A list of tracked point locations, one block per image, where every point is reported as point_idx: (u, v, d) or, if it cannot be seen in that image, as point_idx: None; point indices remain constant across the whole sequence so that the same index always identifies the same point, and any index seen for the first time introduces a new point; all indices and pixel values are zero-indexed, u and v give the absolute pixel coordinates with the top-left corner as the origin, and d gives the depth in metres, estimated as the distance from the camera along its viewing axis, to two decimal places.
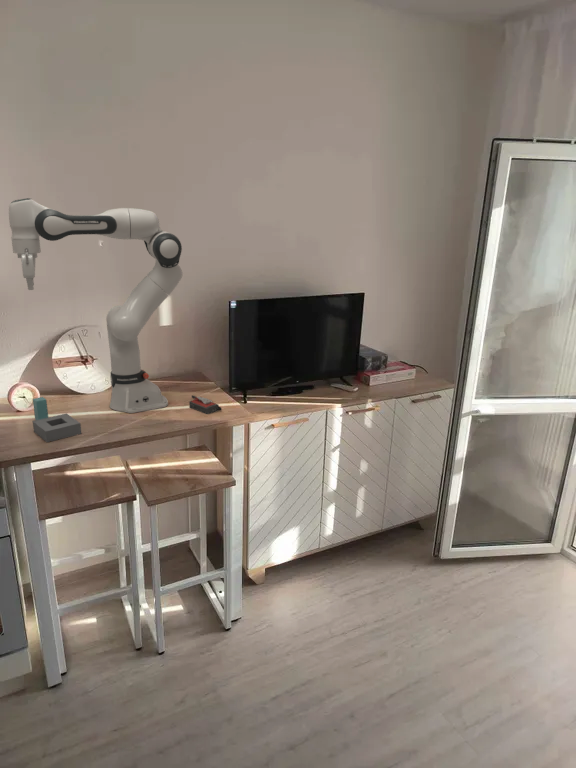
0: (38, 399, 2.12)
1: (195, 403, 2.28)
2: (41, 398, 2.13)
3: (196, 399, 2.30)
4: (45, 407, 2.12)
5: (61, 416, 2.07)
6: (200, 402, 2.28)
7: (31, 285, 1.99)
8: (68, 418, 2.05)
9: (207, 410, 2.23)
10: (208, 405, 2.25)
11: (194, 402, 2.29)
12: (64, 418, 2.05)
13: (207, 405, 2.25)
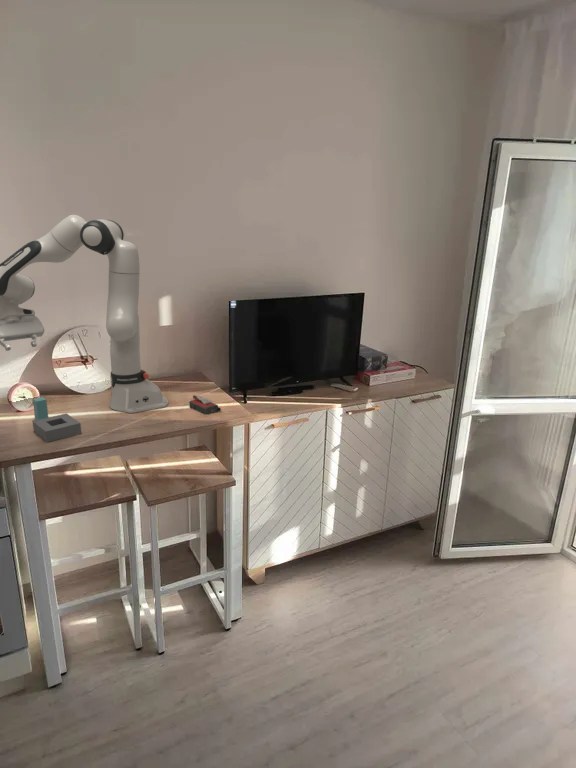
0: (38, 399, 2.12)
1: (195, 403, 2.28)
2: (41, 398, 2.13)
3: (196, 399, 2.29)
4: (45, 407, 2.12)
5: (61, 416, 2.07)
6: (200, 402, 2.28)
7: (5, 346, 2.12)
8: (68, 418, 2.05)
9: (205, 410, 2.23)
10: (207, 405, 2.25)
11: (194, 402, 2.29)
12: (64, 418, 2.05)
13: (206, 405, 2.25)
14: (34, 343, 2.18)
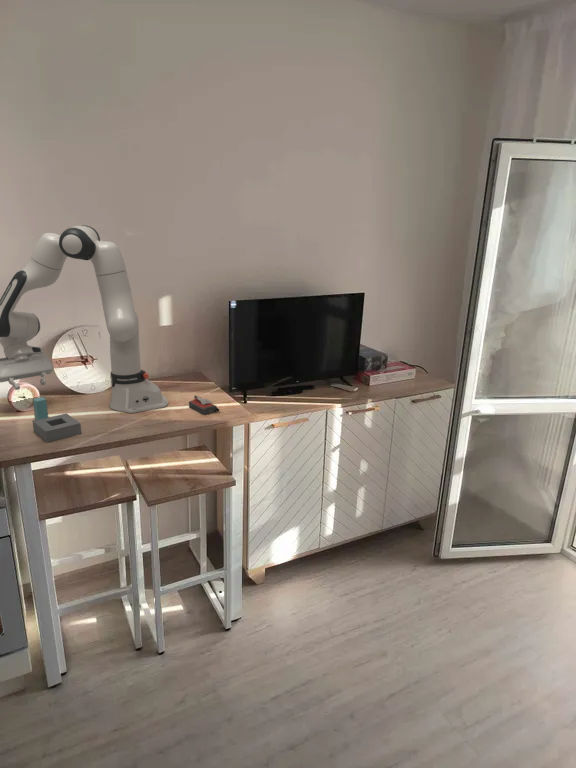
0: (38, 399, 2.12)
1: (194, 403, 2.27)
2: (41, 398, 2.13)
3: (195, 399, 2.29)
4: (45, 407, 2.12)
5: (61, 416, 2.07)
6: (199, 403, 2.28)
7: (14, 385, 2.13)
8: (68, 418, 2.05)
9: (203, 411, 2.22)
10: (206, 406, 2.24)
11: (193, 402, 2.28)
12: (64, 418, 2.05)
13: (205, 406, 2.24)
14: (43, 381, 2.19)
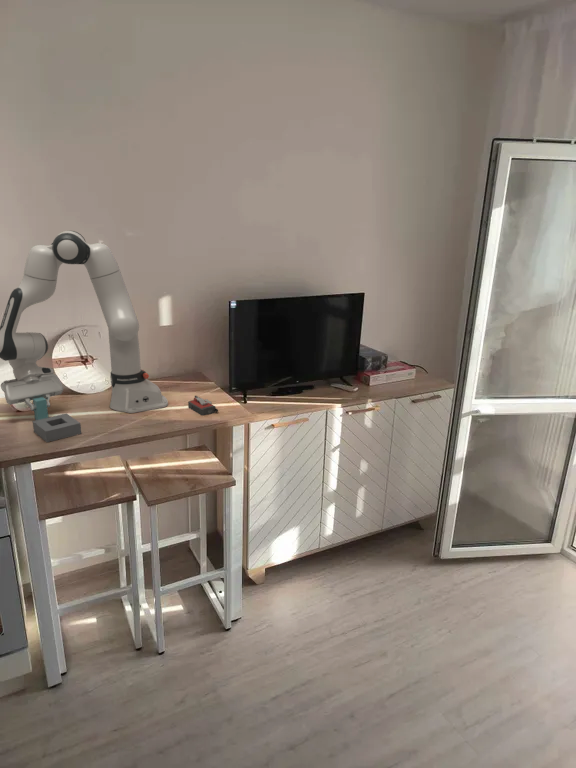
0: (38, 399, 2.12)
1: (193, 403, 2.27)
2: (41, 398, 2.13)
3: (195, 399, 2.29)
4: (45, 407, 2.12)
5: (61, 416, 2.07)
6: (198, 403, 2.27)
7: (30, 406, 2.11)
8: (68, 418, 2.05)
9: (202, 411, 2.22)
10: (204, 406, 2.24)
11: (192, 402, 2.28)
12: (64, 418, 2.05)
13: (203, 406, 2.24)
14: (47, 404, 2.14)
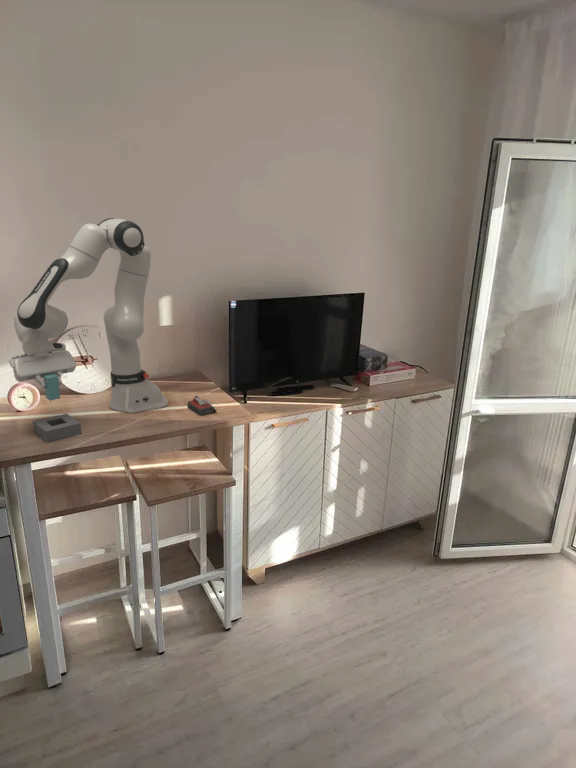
0: (49, 376, 1.97)
1: (192, 404, 2.27)
2: (52, 375, 1.98)
3: (194, 400, 2.29)
4: (57, 385, 1.98)
5: (61, 416, 2.07)
6: (197, 403, 2.27)
7: (41, 383, 1.96)
8: (68, 418, 2.05)
9: (200, 412, 2.22)
10: (203, 407, 2.23)
11: (191, 403, 2.28)
12: (64, 418, 2.05)
13: (202, 407, 2.23)
14: (59, 381, 1.99)
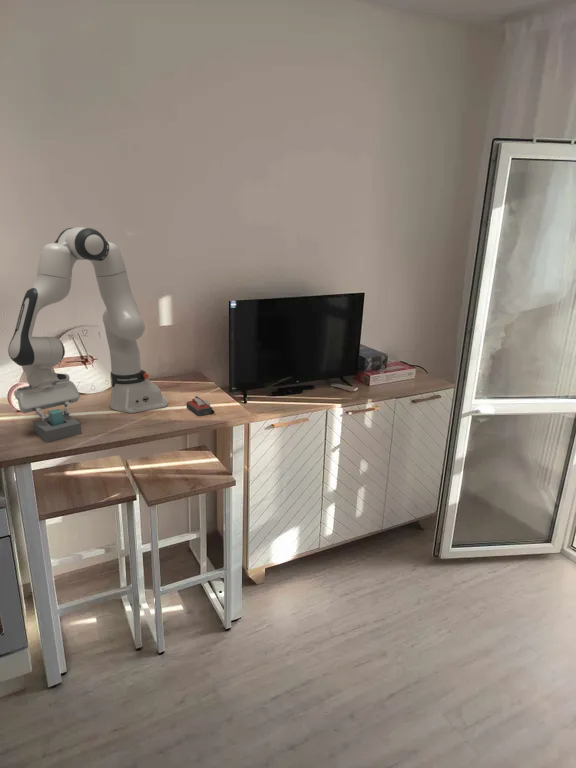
0: (54, 411, 2.00)
1: (191, 404, 2.27)
2: (57, 410, 2.02)
3: (193, 400, 2.28)
4: (61, 420, 2.01)
5: None
6: (195, 404, 2.27)
7: (41, 415, 1.98)
8: (68, 418, 2.05)
9: (198, 412, 2.21)
10: (201, 407, 2.23)
11: (190, 403, 2.28)
12: (64, 418, 2.05)
13: (200, 407, 2.23)
14: (67, 411, 2.03)
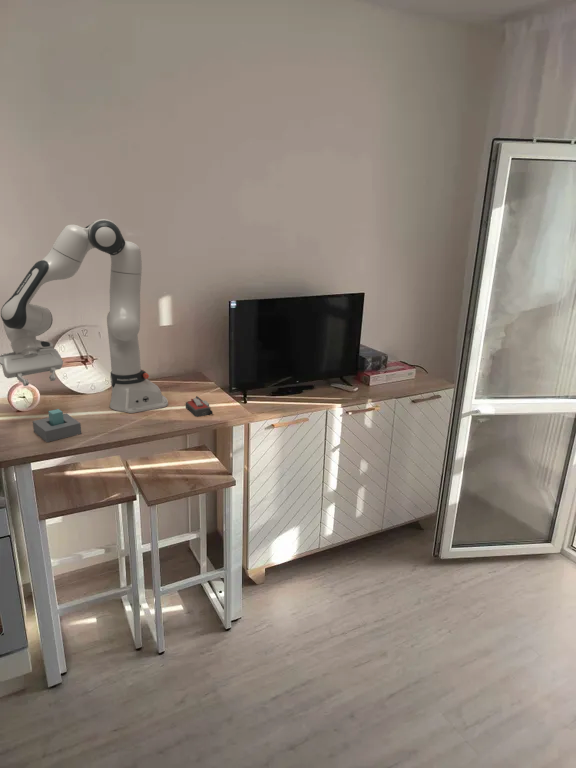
0: (54, 411, 2.00)
1: (189, 404, 2.26)
2: (57, 410, 2.02)
3: (192, 400, 2.28)
4: (61, 420, 2.01)
5: None
6: (194, 404, 2.26)
7: (22, 381, 2.03)
8: (68, 418, 2.05)
9: (195, 412, 2.21)
10: (199, 408, 2.22)
11: (189, 403, 2.27)
12: (64, 418, 2.05)
13: (198, 407, 2.22)
14: (53, 377, 2.09)
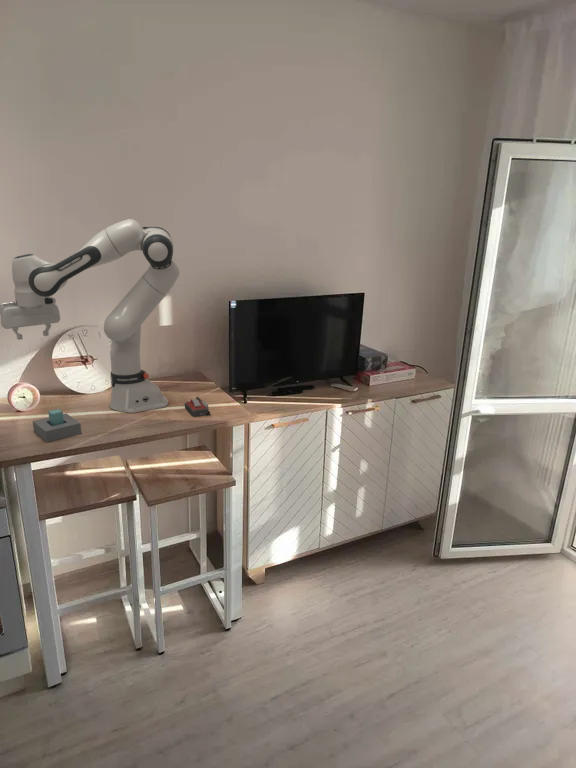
0: (54, 411, 2.00)
1: (188, 405, 2.26)
2: (57, 410, 2.02)
3: (191, 401, 2.28)
4: (61, 420, 2.01)
5: None
6: (193, 404, 2.26)
7: (17, 335, 2.09)
8: (68, 418, 2.05)
9: (193, 413, 2.20)
10: (197, 408, 2.22)
11: (188, 404, 2.27)
12: (64, 418, 2.05)
13: (196, 408, 2.22)
14: (46, 334, 2.16)
